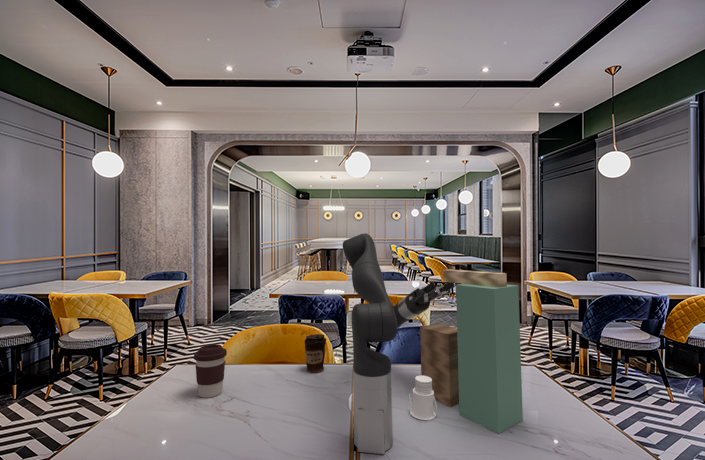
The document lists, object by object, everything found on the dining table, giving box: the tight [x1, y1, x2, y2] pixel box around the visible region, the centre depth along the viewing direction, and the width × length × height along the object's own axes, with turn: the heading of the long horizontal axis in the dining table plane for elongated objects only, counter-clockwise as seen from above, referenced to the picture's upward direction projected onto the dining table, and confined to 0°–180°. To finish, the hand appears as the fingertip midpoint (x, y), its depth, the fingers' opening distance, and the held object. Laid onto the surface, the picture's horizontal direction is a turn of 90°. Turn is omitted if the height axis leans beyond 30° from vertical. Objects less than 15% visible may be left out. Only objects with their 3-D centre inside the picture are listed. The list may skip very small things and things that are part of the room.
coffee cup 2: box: [304, 333, 327, 374], centre depth 133 cm, size 9×8×13 cm
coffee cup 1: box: [193, 343, 228, 399], centre depth 113 cm, size 10×10×15 cm
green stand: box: [455, 283, 524, 434], centre depth 96 cm, size 12×11×36 cm
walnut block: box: [419, 322, 459, 408], centre depth 109 cm, size 12×8×21 cm
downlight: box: [408, 375, 439, 421], centre depth 97 cm, size 8×7×10 cm
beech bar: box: [442, 269, 508, 287], centre depth 100 cm, size 19×4×4 cm, turn 34°
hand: (443, 284), depth 109 cm, fingers open, 8 cm apart
